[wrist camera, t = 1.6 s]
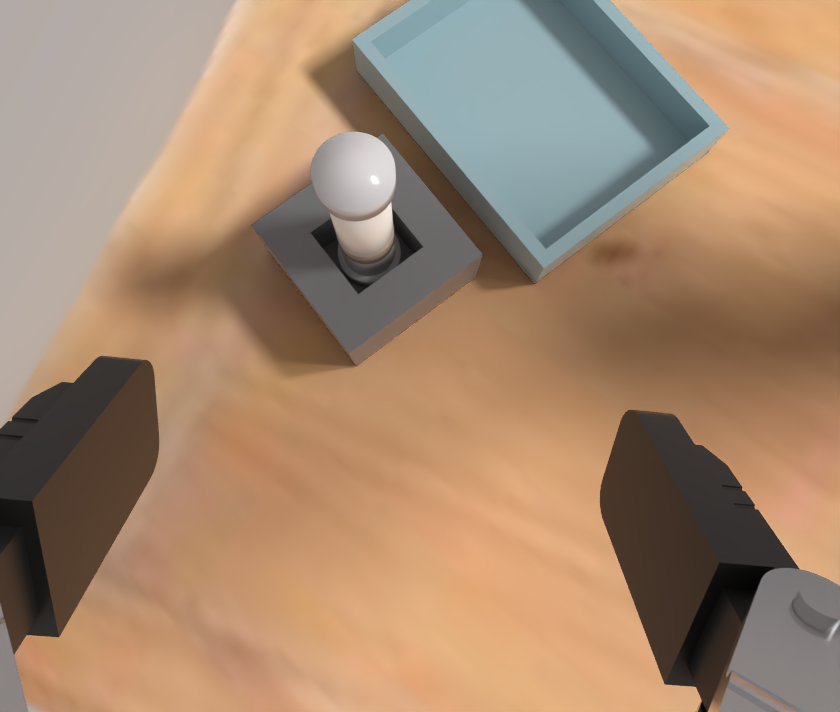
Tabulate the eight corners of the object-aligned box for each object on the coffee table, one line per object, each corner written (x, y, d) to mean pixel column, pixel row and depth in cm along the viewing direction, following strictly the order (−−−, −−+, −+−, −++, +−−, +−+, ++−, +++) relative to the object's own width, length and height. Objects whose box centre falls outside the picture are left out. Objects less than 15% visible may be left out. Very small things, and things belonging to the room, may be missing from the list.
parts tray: (525, -45, 43) (532, -83, 41) (706, 153, 41) (729, 128, 38) (356, 70, 42) (351, 39, 39) (534, 284, 39) (544, 268, 36)
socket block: (386, 166, 41) (383, 133, 37) (476, 276, 39) (482, 254, 35) (268, 250, 40) (251, 225, 36) (356, 366, 38) (349, 353, 34)
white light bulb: (376, 217, 39) (361, 116, 28) (413, 263, 38) (412, 177, 28) (327, 252, 38) (293, 163, 28) (364, 299, 38) (343, 226, 27)
